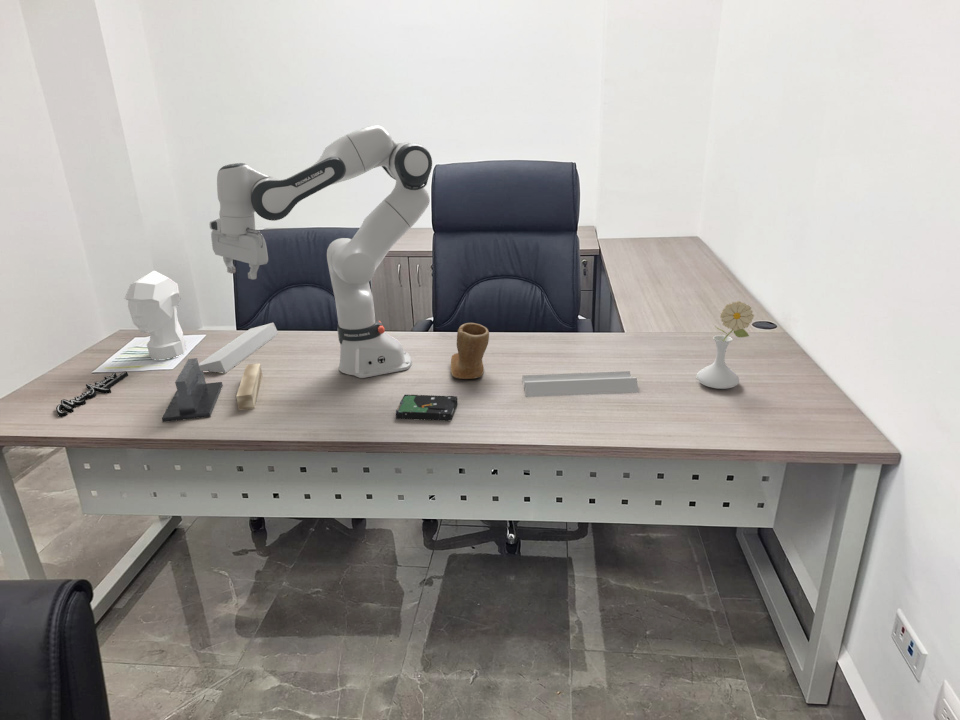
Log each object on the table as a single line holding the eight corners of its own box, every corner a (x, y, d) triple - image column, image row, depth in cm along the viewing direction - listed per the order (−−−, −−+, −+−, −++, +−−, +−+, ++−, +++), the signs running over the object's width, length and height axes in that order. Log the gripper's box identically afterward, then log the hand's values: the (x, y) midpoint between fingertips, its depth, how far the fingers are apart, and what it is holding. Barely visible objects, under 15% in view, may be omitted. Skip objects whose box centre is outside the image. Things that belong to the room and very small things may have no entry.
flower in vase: (688, 385, 177) (697, 300, 168) (706, 372, 185) (716, 290, 175) (734, 398, 169) (747, 309, 159) (751, 384, 177) (764, 298, 167)
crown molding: (628, 377, 185) (629, 365, 184) (639, 395, 174) (639, 383, 173) (522, 380, 185) (522, 369, 183) (526, 399, 174) (526, 387, 172)
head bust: (125, 366, 203) (102, 282, 192) (160, 344, 220) (141, 266, 209) (170, 368, 201) (149, 283, 190) (202, 345, 218) (184, 266, 207)
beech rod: (262, 376, 193) (260, 363, 191) (254, 409, 173) (251, 394, 171) (249, 378, 192) (246, 364, 190) (239, 411, 172) (236, 396, 171)
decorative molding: (200, 380, 198) (226, 374, 195) (193, 366, 197) (220, 360, 194) (255, 340, 229) (278, 334, 226) (250, 328, 227) (273, 322, 224)
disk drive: (457, 404, 172) (404, 402, 174) (457, 395, 171) (403, 393, 173) (451, 423, 163) (395, 420, 165) (451, 413, 162) (394, 411, 164)
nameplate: (76, 413, 171) (41, 413, 172) (77, 418, 172) (43, 418, 172) (134, 371, 196) (104, 371, 197) (136, 376, 197) (105, 375, 198)
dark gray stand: (222, 385, 187) (215, 353, 183) (210, 416, 169) (202, 382, 165) (179, 390, 185) (172, 358, 181) (162, 422, 167) (153, 387, 163)
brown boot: (490, 381, 184) (489, 333, 178) (449, 382, 184) (447, 334, 178) (489, 360, 198) (488, 315, 192) (451, 362, 198) (449, 316, 192)
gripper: (272, 229, 168) (275, 280, 173) (225, 220, 179) (229, 268, 184) (251, 232, 163) (255, 284, 168) (205, 222, 174) (210, 271, 179)
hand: (241, 275), depth 176 cm, fingers open, 8 cm apart
